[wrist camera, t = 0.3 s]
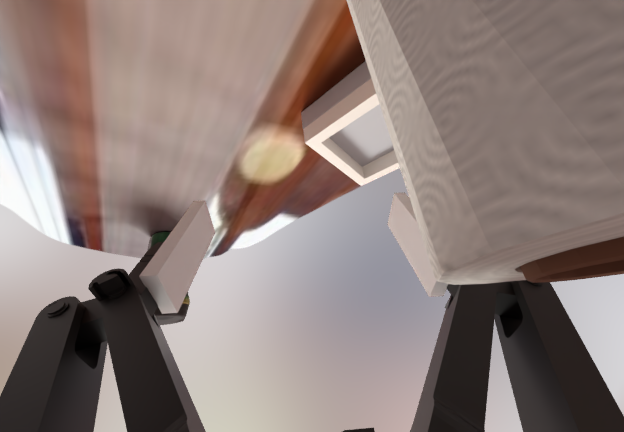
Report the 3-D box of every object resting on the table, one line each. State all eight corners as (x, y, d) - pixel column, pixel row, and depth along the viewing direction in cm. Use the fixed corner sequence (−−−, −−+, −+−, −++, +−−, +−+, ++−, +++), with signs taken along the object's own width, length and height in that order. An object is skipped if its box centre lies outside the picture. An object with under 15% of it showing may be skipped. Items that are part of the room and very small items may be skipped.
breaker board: (355, 161, 34) (361, 186, 32) (301, 112, 26) (304, 142, 24) (659, -7, 19) (705, 23, 17) (776, -271, 10) (899, -274, 8)
